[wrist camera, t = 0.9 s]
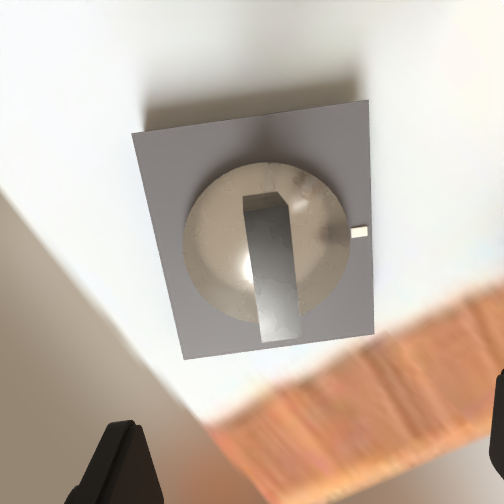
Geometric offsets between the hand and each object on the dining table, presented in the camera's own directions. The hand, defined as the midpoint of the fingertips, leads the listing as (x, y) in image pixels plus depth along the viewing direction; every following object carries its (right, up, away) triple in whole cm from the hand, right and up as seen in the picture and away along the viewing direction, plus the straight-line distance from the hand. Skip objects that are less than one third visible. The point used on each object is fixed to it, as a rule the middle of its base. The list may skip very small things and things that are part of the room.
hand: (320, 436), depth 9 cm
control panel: (-1, +6, +19) cm, 20 cm away
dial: (-1, +5, +16) cm, 17 cm away
